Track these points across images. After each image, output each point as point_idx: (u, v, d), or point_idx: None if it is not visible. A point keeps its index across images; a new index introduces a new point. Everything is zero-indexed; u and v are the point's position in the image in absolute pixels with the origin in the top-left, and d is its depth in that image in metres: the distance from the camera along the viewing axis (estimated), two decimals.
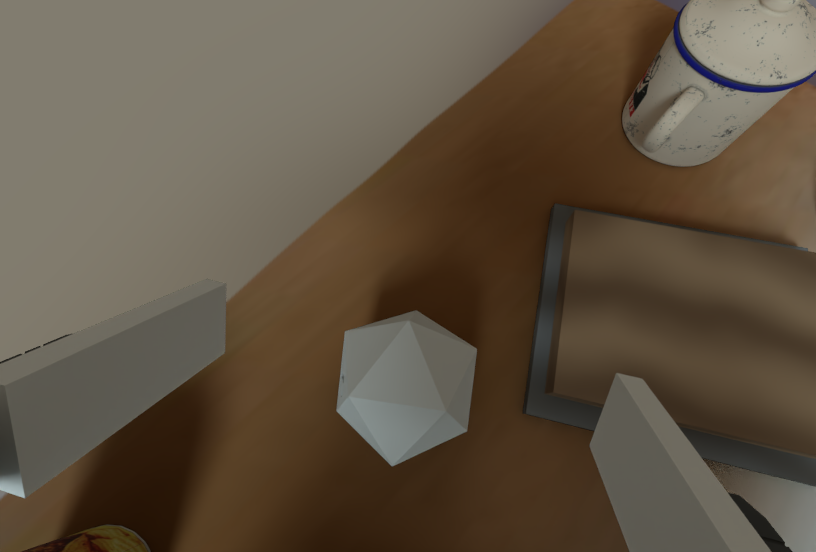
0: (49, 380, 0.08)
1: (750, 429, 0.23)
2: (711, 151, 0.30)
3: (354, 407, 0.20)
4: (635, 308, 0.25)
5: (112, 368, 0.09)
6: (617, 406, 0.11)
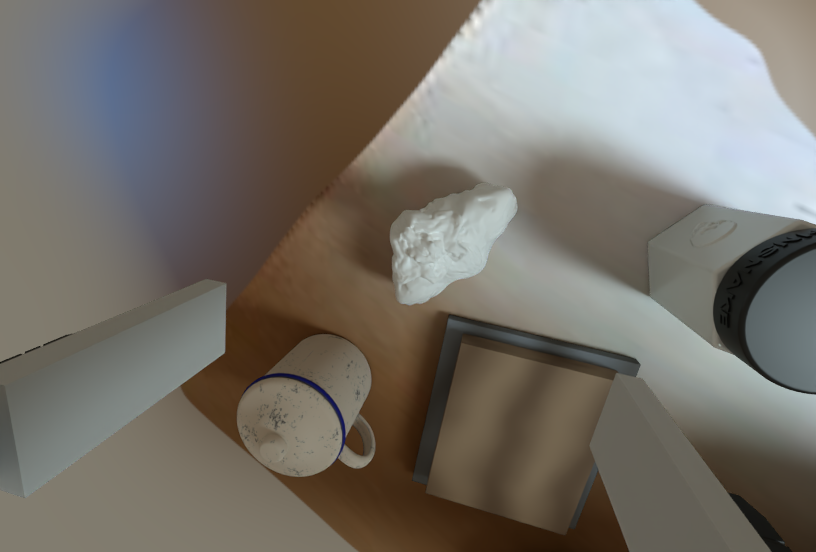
0: (49, 380, 0.08)
1: None
2: (364, 377, 0.36)
3: None
4: (505, 475, 0.34)
5: (112, 368, 0.09)
6: (617, 406, 0.11)
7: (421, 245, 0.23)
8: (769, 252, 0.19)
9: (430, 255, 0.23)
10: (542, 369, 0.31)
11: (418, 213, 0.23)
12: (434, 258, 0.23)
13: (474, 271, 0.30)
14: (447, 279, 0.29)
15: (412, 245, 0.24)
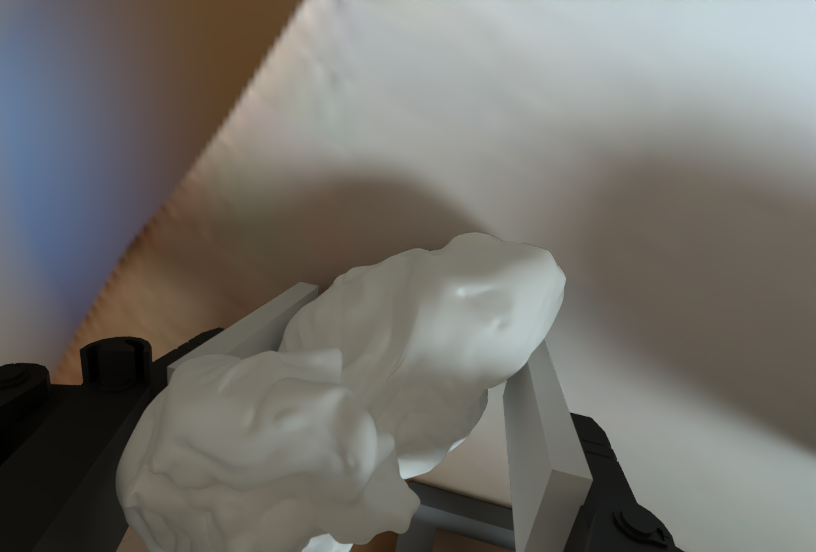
0: None
1: None
2: None
3: None
4: None
5: None
6: None
7: (214, 538, 0.06)
8: None
9: None
10: None
11: (197, 405, 0.06)
12: None
13: (454, 447, 0.12)
14: None
15: (180, 532, 0.06)
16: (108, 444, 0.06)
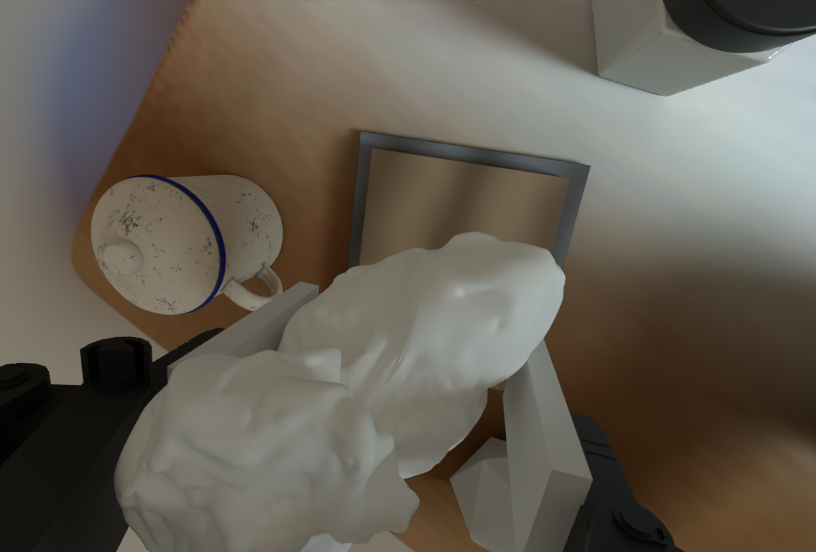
0: None
1: None
2: (268, 217, 0.30)
3: None
4: None
5: None
6: None
7: (213, 538, 0.06)
8: None
9: None
10: (470, 172, 0.25)
11: (196, 404, 0.06)
12: None
13: (454, 446, 0.12)
14: None
15: (179, 531, 0.06)
16: (108, 444, 0.06)
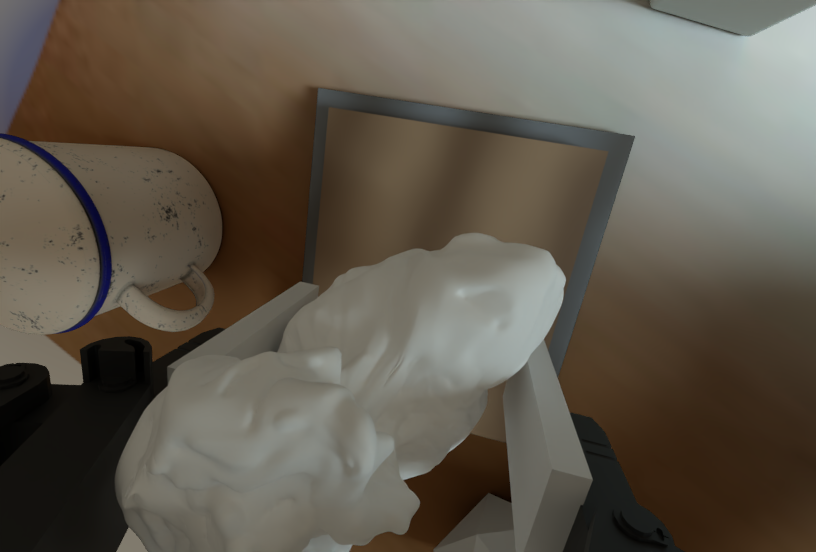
0: None
1: (564, 253, 0.18)
2: (197, 203, 0.22)
3: None
4: None
5: None
6: None
7: (213, 540, 0.06)
8: None
9: None
10: (464, 141, 0.18)
11: (196, 406, 0.06)
12: None
13: (454, 447, 0.12)
14: None
15: (180, 532, 0.06)
16: (108, 444, 0.06)
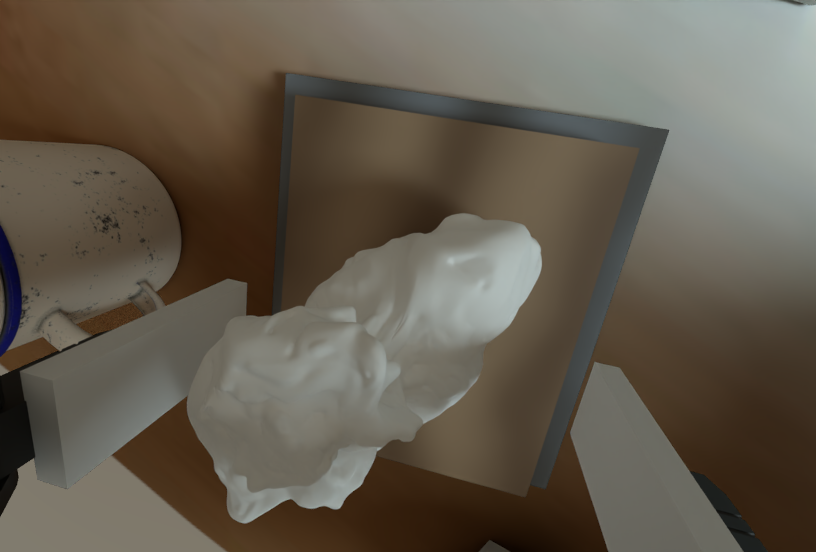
0: (91, 376, 0.08)
1: (583, 272, 0.15)
2: (146, 210, 0.19)
3: None
4: None
5: (145, 365, 0.10)
6: (594, 393, 0.12)
7: (267, 442, 0.07)
8: None
9: (294, 472, 0.07)
10: (461, 136, 0.15)
11: (251, 341, 0.07)
12: (309, 478, 0.07)
13: (455, 402, 0.14)
14: None
15: (241, 438, 0.08)
16: None
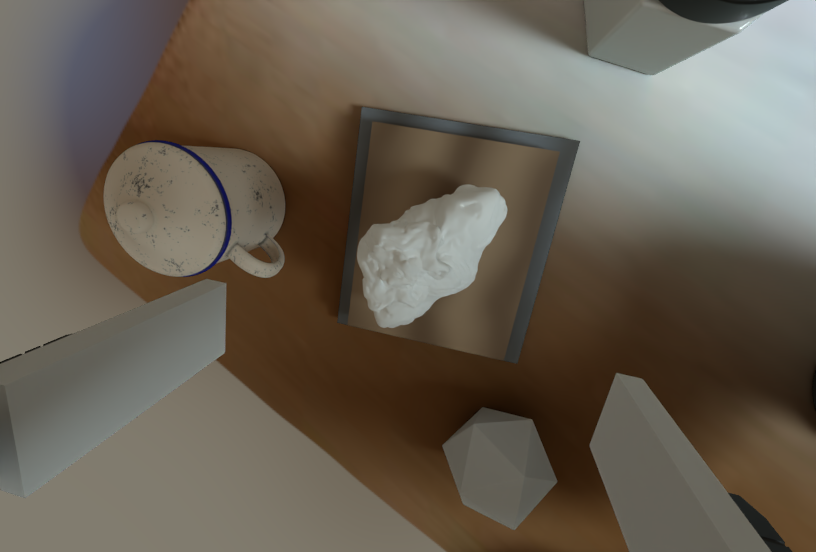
0: (49, 380, 0.08)
1: (532, 220, 0.27)
2: (271, 188, 0.31)
3: (520, 521, 0.30)
4: None
5: (112, 368, 0.09)
6: (617, 406, 0.11)
7: (394, 266, 0.20)
8: None
9: (405, 277, 0.20)
10: (465, 145, 0.27)
11: (388, 227, 0.20)
12: (410, 280, 0.20)
13: (462, 286, 0.26)
14: (432, 297, 0.26)
15: (383, 266, 0.20)
16: None
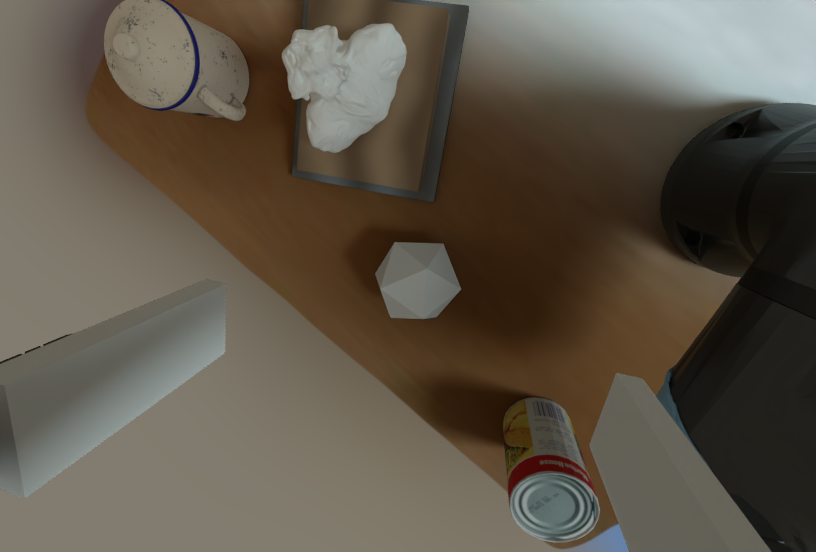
0: (49, 380, 0.08)
1: (432, 67, 0.35)
2: (236, 57, 0.39)
3: (428, 314, 0.38)
4: None
5: (112, 368, 0.09)
6: (617, 406, 0.11)
7: (305, 56, 0.28)
8: None
9: (313, 63, 0.28)
10: (379, 7, 0.35)
11: (301, 29, 0.28)
12: (317, 66, 0.28)
13: (374, 110, 0.34)
14: (350, 117, 0.34)
15: (298, 57, 0.28)
16: None
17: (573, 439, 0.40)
